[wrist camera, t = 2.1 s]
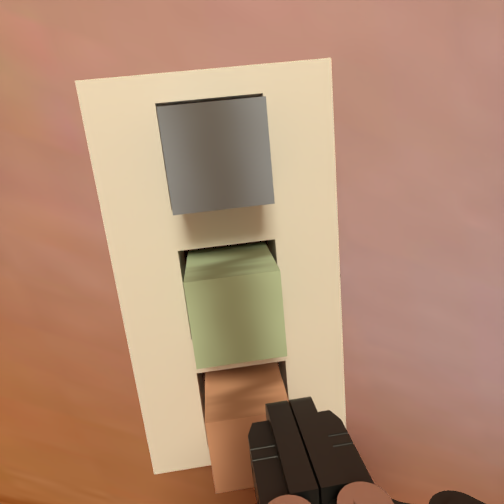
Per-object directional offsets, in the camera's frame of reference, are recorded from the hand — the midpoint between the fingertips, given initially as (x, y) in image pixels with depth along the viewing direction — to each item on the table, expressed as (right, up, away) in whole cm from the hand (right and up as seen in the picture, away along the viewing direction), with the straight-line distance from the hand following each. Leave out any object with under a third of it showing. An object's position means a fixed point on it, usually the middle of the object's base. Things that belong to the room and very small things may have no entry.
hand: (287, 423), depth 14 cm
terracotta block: (-2, -5, +17) cm, 17 cm away
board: (-3, +4, +17) cm, 17 cm away
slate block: (-3, +12, +12) cm, 17 cm away
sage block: (-3, +4, +14) cm, 15 cm away
